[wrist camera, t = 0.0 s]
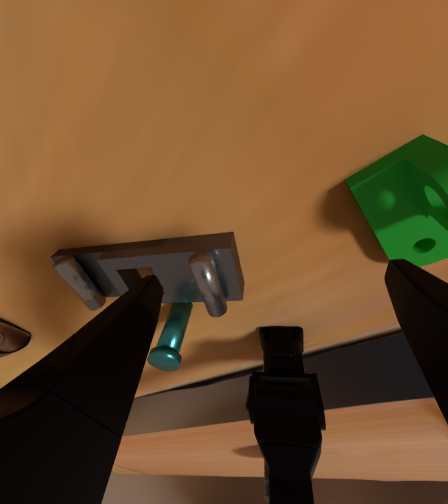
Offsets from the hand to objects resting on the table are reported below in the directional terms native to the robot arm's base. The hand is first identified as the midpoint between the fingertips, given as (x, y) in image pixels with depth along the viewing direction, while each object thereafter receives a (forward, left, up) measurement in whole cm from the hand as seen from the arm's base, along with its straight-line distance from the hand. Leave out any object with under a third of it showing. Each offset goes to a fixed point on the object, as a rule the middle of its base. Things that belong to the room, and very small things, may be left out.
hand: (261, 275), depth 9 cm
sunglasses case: (-25, +60, -16) cm, 67 cm away
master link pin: (-19, +14, -15) cm, 28 cm away
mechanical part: (-7, -13, -15) cm, 21 cm away
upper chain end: (-11, +16, -15) cm, 25 cm away
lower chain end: (-11, +16, -15) cm, 25 cm away
